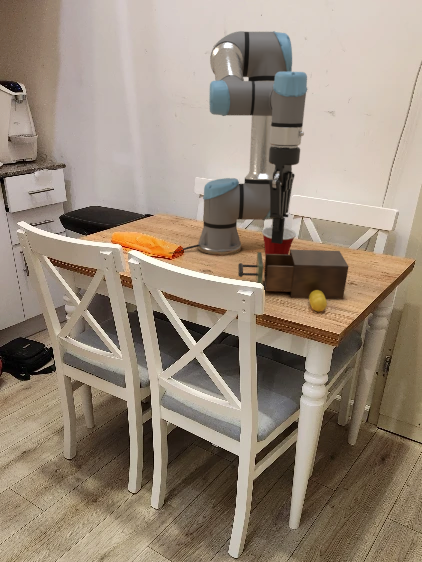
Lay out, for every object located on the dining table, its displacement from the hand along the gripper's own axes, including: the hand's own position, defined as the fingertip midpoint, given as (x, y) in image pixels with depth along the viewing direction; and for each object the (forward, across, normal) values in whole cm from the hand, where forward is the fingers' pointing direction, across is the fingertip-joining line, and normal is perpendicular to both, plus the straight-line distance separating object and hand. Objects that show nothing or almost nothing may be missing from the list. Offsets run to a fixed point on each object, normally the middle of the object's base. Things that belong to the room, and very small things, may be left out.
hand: (276, 242), depth 130 cm
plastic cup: (+15, +22, +7) cm, 28 cm away
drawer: (+14, +5, +3) cm, 15 cm away
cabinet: (+15, +10, -9) cm, 20 cm away
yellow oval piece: (+15, -3, -14) cm, 21 cm away
